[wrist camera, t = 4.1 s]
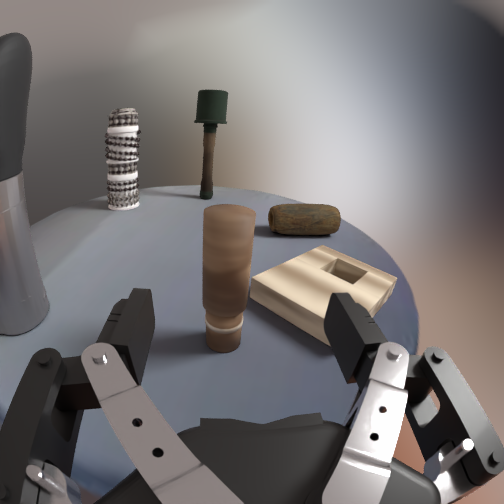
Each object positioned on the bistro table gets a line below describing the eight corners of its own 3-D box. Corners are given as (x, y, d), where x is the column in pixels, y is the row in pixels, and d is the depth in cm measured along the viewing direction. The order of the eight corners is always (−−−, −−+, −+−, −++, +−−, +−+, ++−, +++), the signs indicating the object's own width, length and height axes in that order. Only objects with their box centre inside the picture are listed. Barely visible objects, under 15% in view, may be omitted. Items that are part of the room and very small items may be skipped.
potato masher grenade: (226, 197, 80) (234, 93, 67) (212, 204, 72) (220, 89, 59) (200, 192, 82) (207, 93, 69) (185, 199, 75) (190, 89, 62)
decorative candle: (119, 199, 71) (119, 110, 60) (147, 202, 70) (148, 108, 59) (100, 209, 63) (98, 110, 52) (128, 212, 62) (128, 107, 51)
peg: (221, 361, 26) (227, 224, 20) (195, 338, 28) (193, 209, 22) (251, 342, 29) (266, 214, 23) (224, 322, 31) (231, 201, 25)
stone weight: (324, 227, 64) (329, 200, 61) (339, 239, 58) (345, 210, 55) (263, 227, 60) (266, 197, 57) (274, 241, 54) (278, 207, 51)
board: (341, 352, 28) (349, 332, 27) (249, 297, 36) (251, 277, 35) (391, 294, 39) (397, 277, 38) (318, 260, 48) (322, 245, 46)
